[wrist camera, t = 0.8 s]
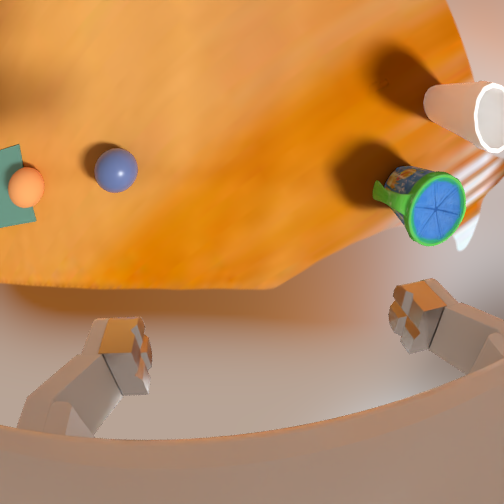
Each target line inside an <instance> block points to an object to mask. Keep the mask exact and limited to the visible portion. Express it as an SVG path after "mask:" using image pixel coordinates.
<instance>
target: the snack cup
mask: <svg viewBox="0 0 504 504" xmlns="http://www.w3.org/2000/svg"><path fill="white" fill-rule="evenodd" d="M373 199H374V200H377V201H381V202H383V203H385V204H387V205H388V206H390V208H391V209H392V210H393V212H394V213H395V214H396V215H397V216H398V218H399V219H400V220H401V221H402V223H403V224H404V225H405V228H406V230H407V232H408V234H409V236H410V238H411V239H412V240H413V241H416V242H418V243H419V244H421V245H424V246H434V245H438V244H440V243H442V242H443V241H445V240H447V239H448V238H449V237H450V236H451V235H452V234H453V233H454V232H455V231H456V229H457V228H458V226H459V224H460V222H461V221H462V220H463V217H464V214H465V211H466V206H465V204H466V198H465V192H464V189H463V187H462V185H461V182H460V181H459V180H458V179H457V178H455V177H453V176H452V175H450V174H448V173H446V172H439V171H438V172H434V171H430V170H426V169H422V168H418V167H414V166H402V167H397V168H396V170H395V171H394V172H392V173H391V175H390V176H389V178H388V179H387V181H386V183H385V186H384V187H383V185H382V184H381V183H380V181H378V180H376V182H375V184H374V188H373Z"/></svg>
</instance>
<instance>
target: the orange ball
mask: <svg viewBox="0 0 504 504" xmlns="http://www.w3.org/2000/svg"><path fill="white" fill-rule="evenodd" d="M43 192H44V180H43V177H42V175H41V174H40V173H39V172H38V171H37V170H36V169H34V168H30V167H25V168H21V169H19V170H18V171H16V172H15V173H14V174H13V175H12V177H11V179H10V181H9V185H8V193H9V197H10V199H11V201H12V202H13V203H14V204H15V205H16V206H18V207H21V208H29V207H32V206H34V205H35V204H37V203H38V202H39V200H40V199H41V197H42V195H43Z"/></svg>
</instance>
